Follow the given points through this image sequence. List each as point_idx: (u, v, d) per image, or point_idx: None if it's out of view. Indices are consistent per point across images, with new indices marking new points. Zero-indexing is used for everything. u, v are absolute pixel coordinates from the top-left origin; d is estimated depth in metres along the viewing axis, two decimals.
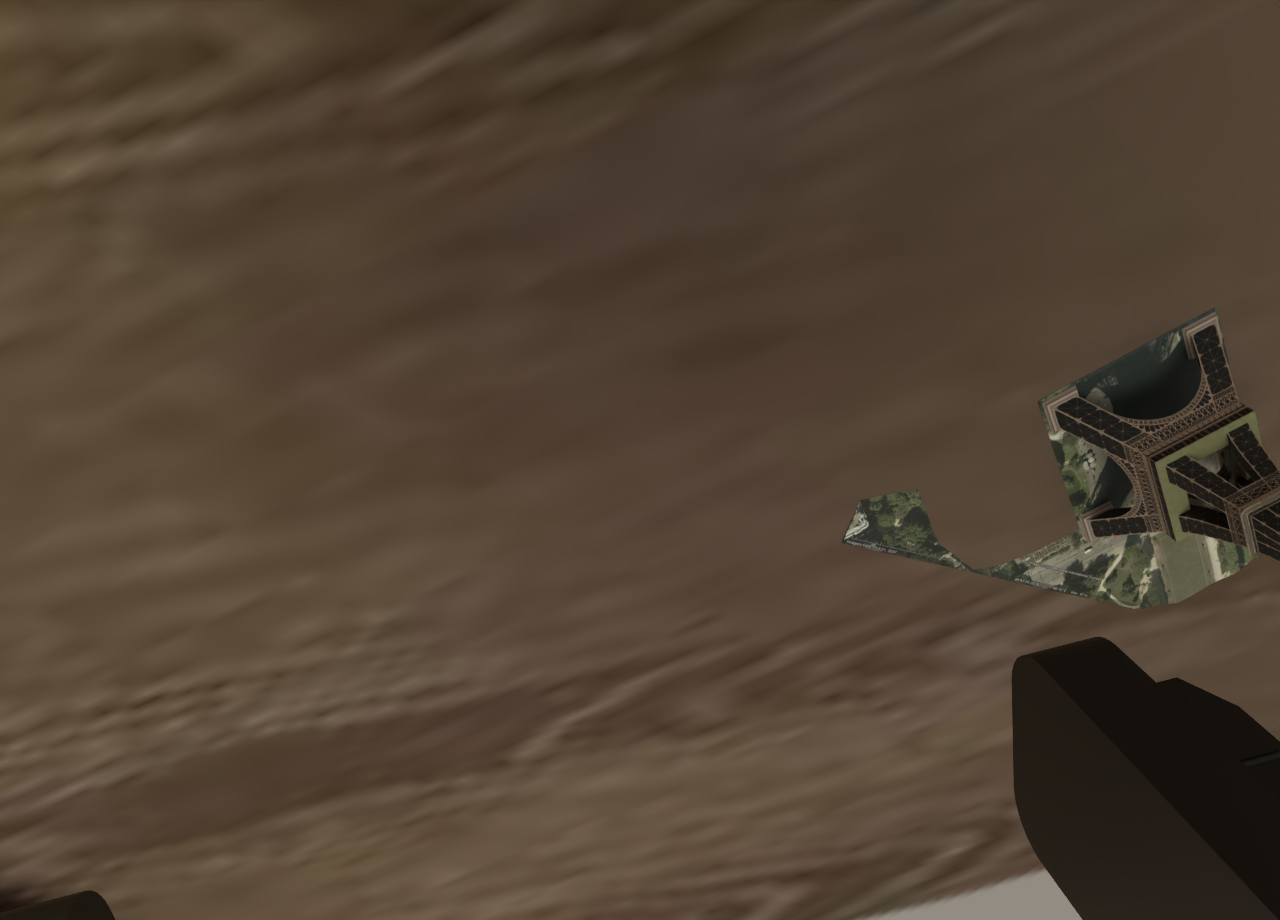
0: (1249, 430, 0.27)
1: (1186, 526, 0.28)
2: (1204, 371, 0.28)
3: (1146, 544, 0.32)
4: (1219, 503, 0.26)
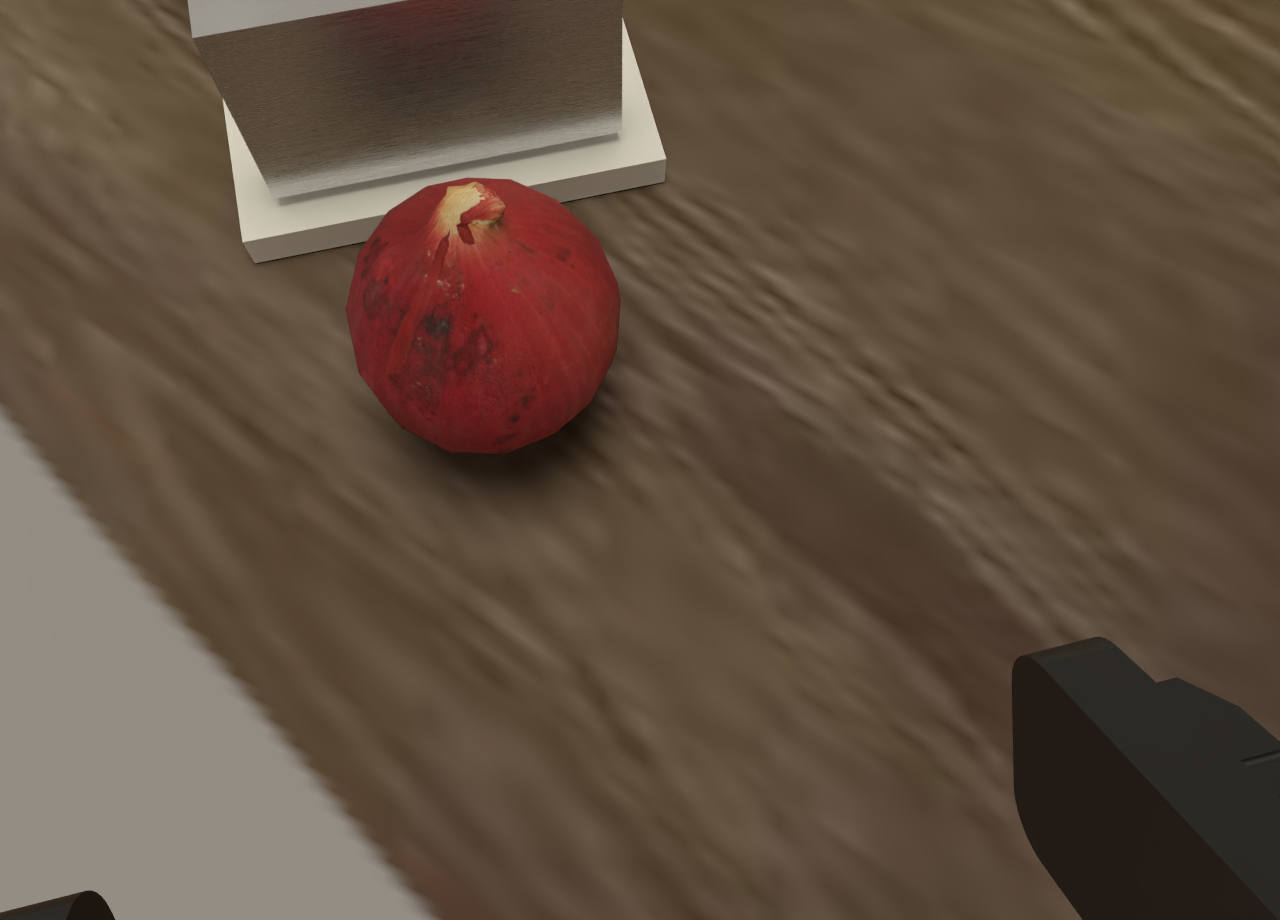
0: None
1: None
2: None
3: None
4: None
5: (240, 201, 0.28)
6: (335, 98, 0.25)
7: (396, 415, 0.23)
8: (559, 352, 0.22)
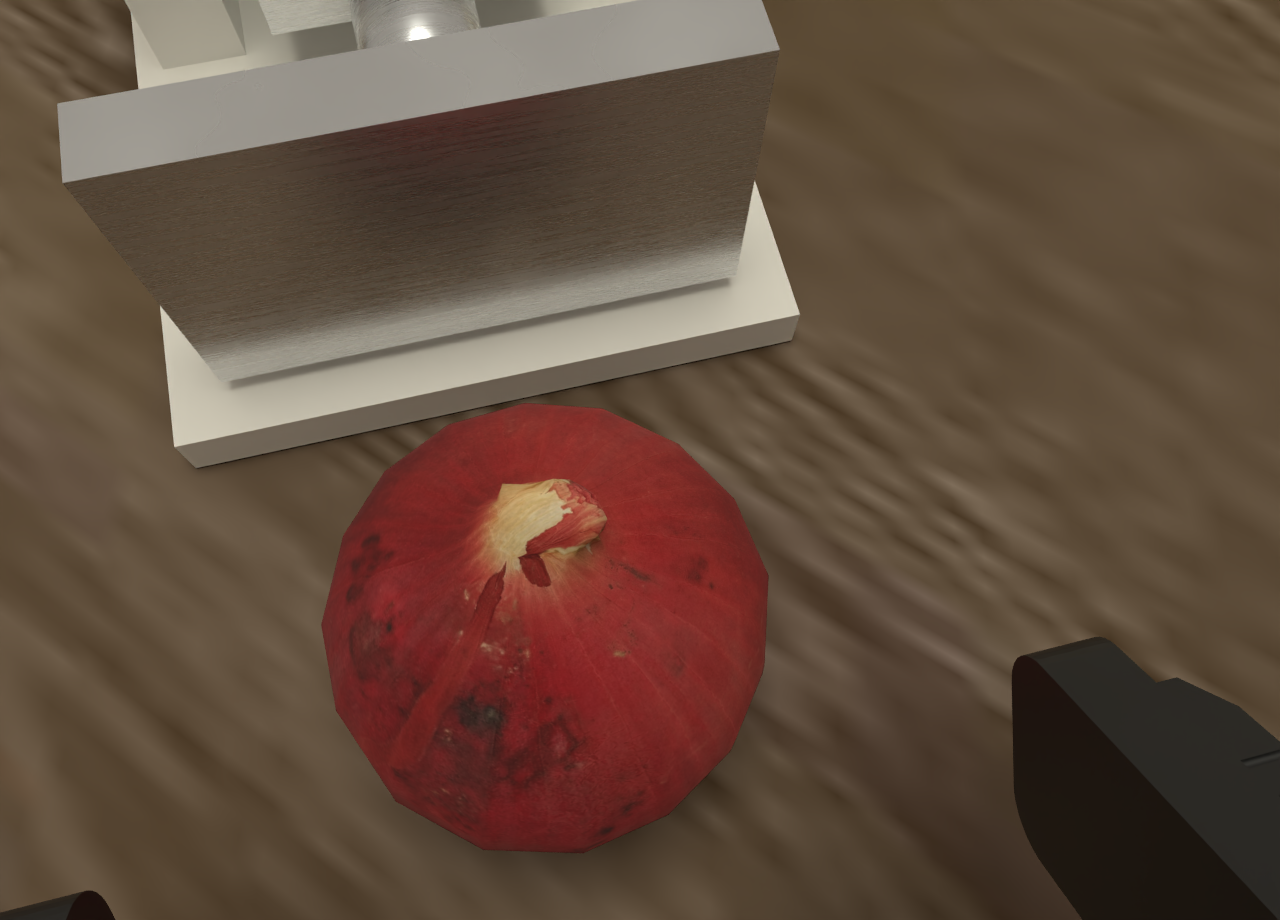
0: None
1: None
2: None
3: None
4: None
5: (173, 381, 0.19)
6: (309, 255, 0.16)
7: (405, 805, 0.14)
8: (688, 734, 0.12)
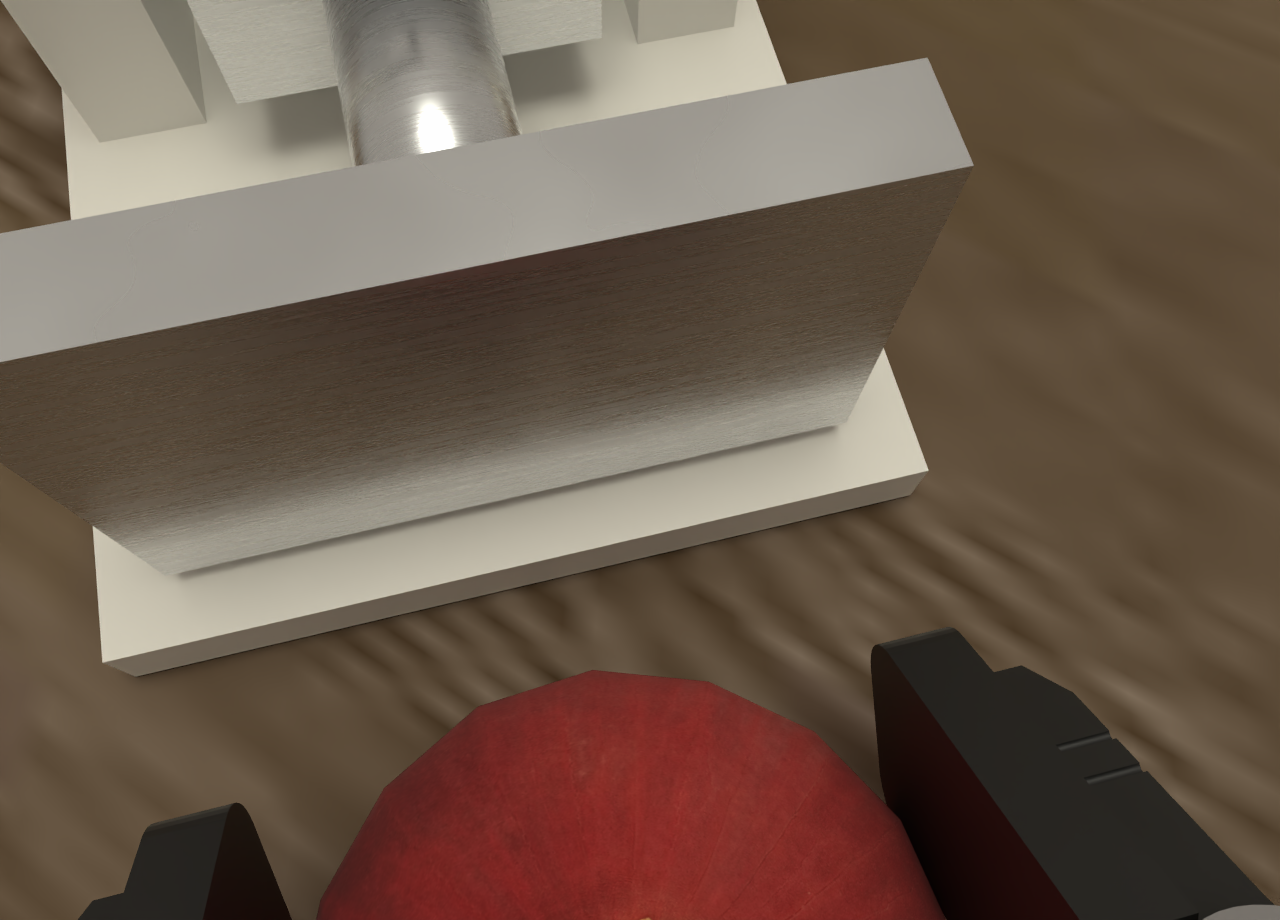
0: None
1: None
2: None
3: None
4: None
5: (103, 568, 0.14)
6: (278, 440, 0.11)
7: None
8: None
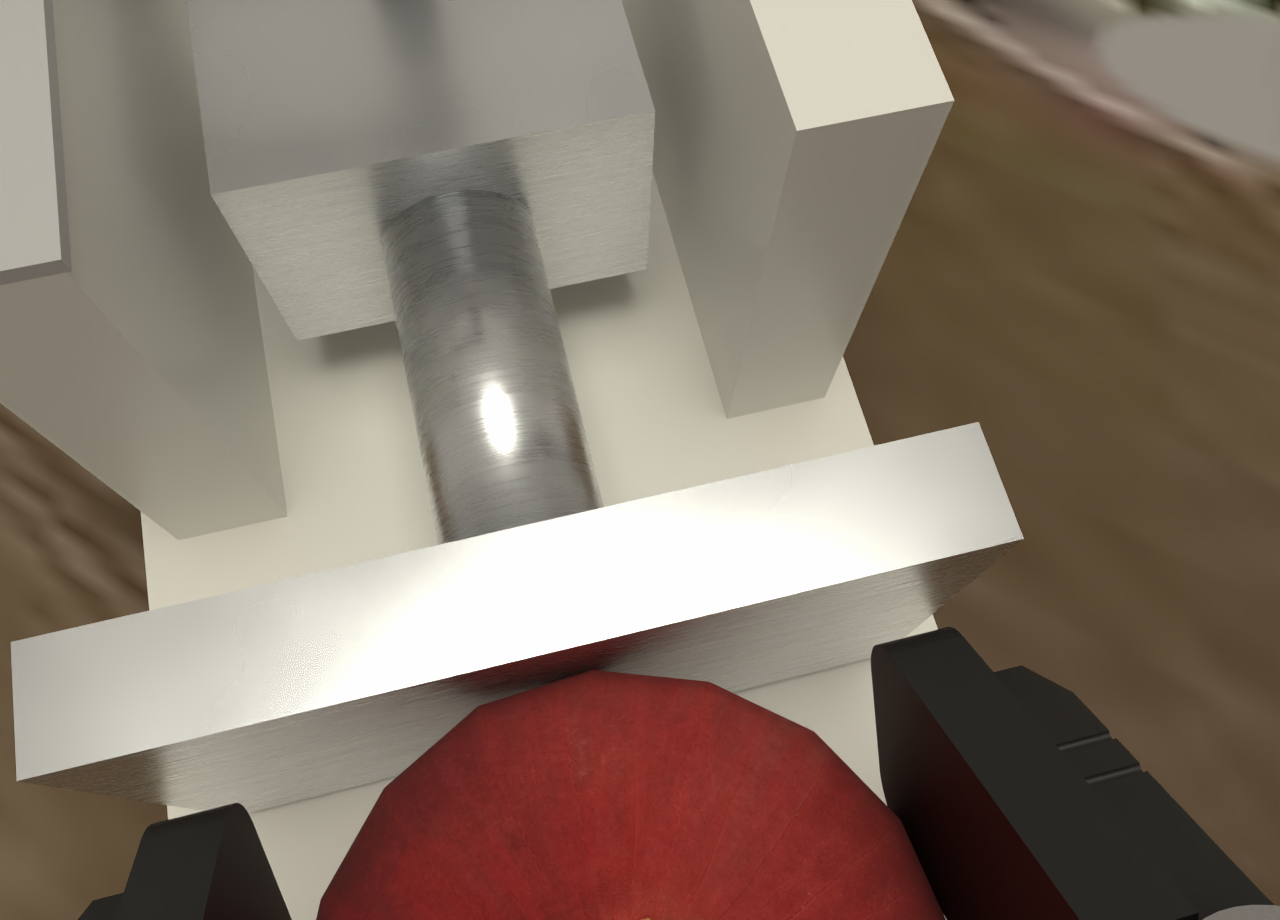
0: None
1: None
2: None
3: None
4: None
5: None
6: (357, 745, 0.12)
7: None
8: None
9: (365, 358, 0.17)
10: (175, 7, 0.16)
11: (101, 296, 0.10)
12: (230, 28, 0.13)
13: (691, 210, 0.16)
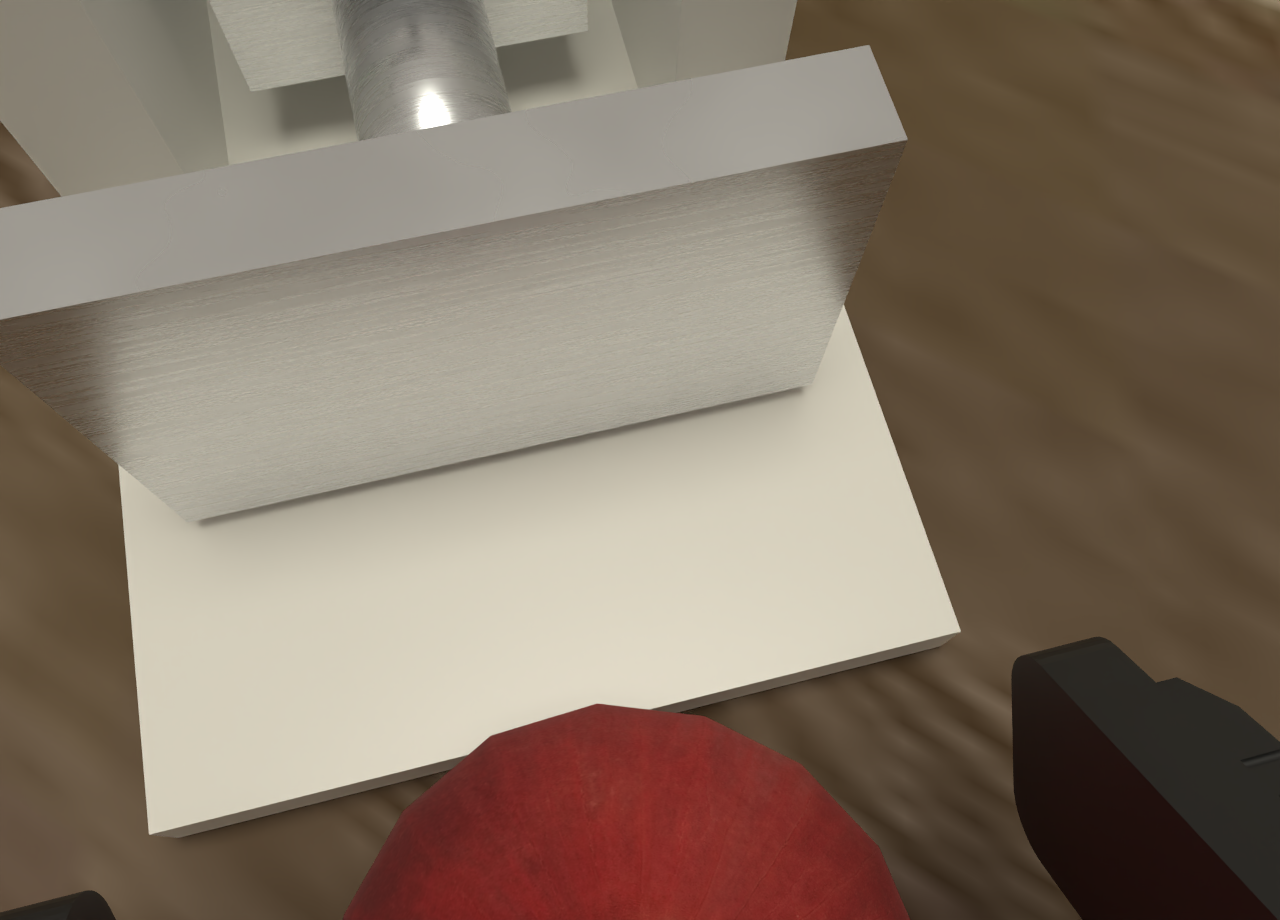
0: None
1: None
2: None
3: None
4: None
5: (148, 736, 0.14)
6: (293, 389, 0.12)
7: None
8: None
9: (320, 132, 0.18)
10: None
11: None
12: None
13: None
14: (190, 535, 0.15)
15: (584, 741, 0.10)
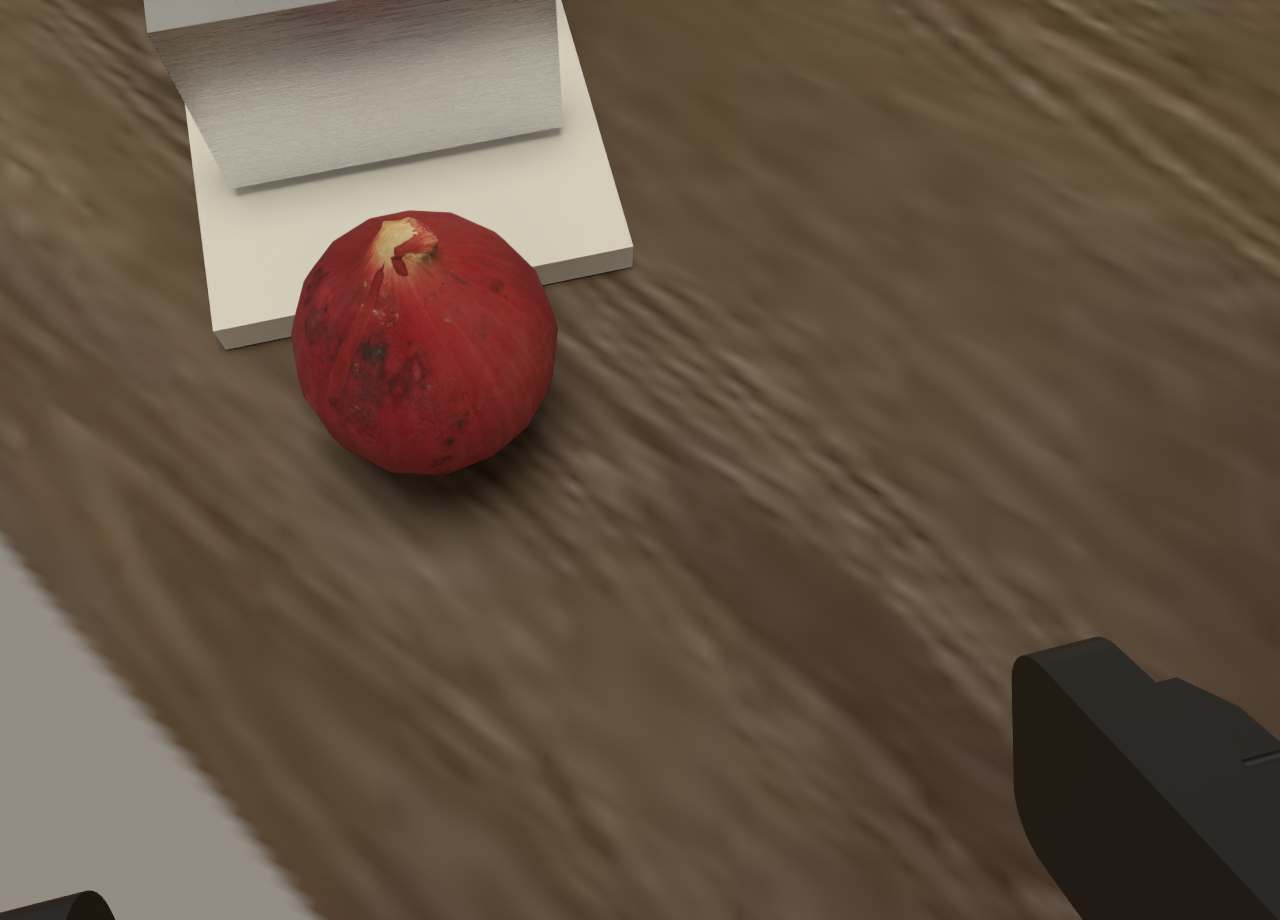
0: None
1: None
2: None
3: None
4: None
5: (211, 289, 0.28)
6: (286, 92, 0.26)
7: (338, 437, 0.24)
8: (492, 378, 0.22)
9: None
10: None
11: None
12: None
13: None
14: (231, 199, 0.29)
15: None
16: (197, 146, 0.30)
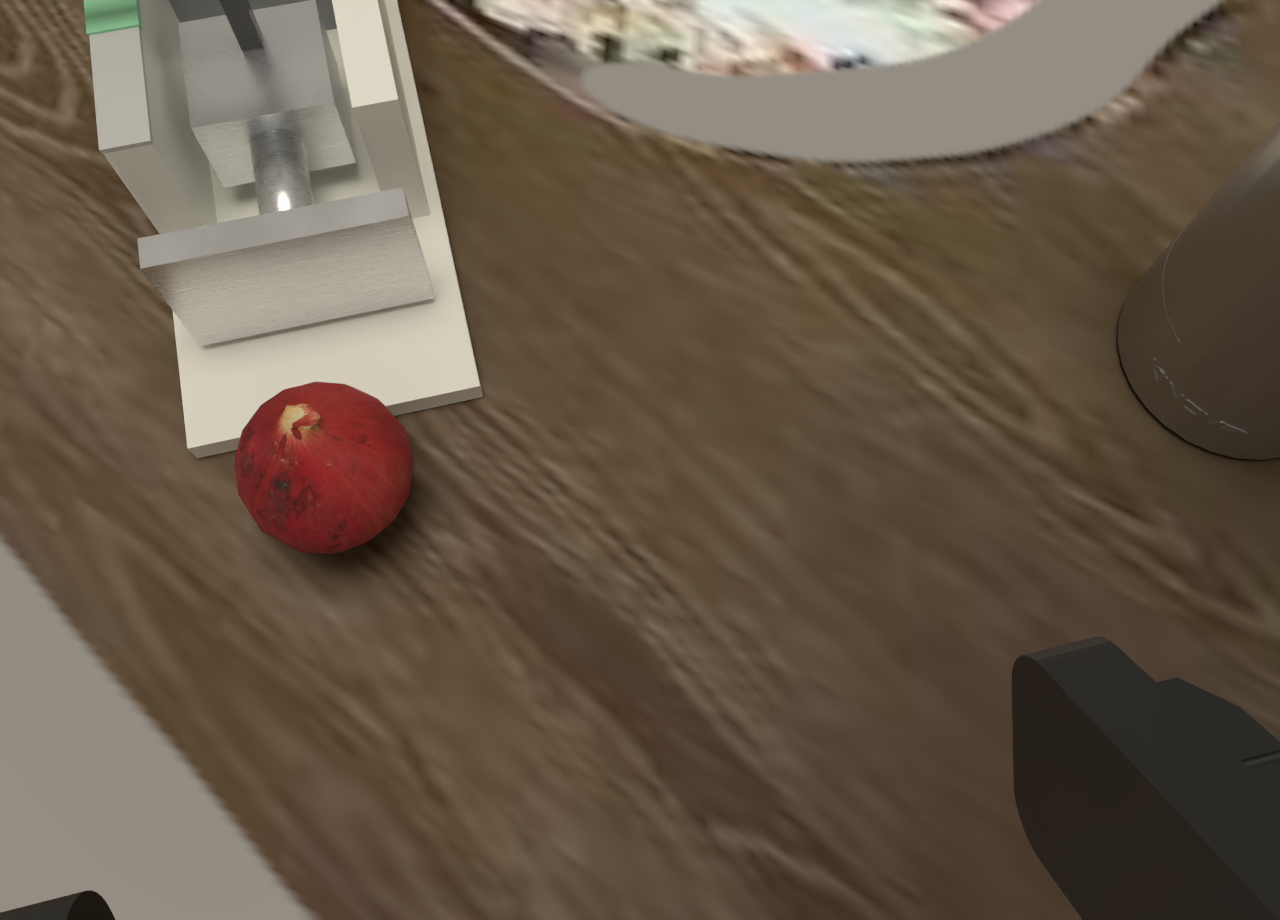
0: None
1: None
2: None
3: None
4: None
5: (186, 418, 0.41)
6: (234, 292, 0.39)
7: (265, 531, 0.36)
8: (360, 497, 0.35)
9: (253, 200, 0.44)
10: (179, 66, 0.43)
11: (159, 153, 0.38)
12: (197, 75, 0.40)
13: None
14: (201, 352, 0.42)
15: (306, 384, 0.37)
16: None
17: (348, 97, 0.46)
